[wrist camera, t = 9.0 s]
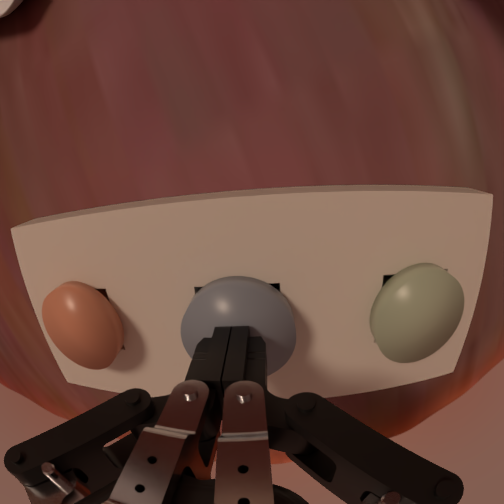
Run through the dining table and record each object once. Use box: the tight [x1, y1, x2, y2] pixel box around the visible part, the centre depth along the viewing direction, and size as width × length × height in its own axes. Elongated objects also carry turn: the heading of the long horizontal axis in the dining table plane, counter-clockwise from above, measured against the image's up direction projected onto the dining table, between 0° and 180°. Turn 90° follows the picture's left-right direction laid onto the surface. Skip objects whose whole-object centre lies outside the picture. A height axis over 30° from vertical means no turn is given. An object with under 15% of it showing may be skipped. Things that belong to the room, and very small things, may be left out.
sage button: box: [369, 263, 464, 363], centre depth 14 cm, size 5×5×4 cm
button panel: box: [11, 185, 493, 399], centre depth 15 cm, size 28×12×2 cm, turn 94°
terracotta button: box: [42, 281, 124, 370], centre depth 15 cm, size 5×5×4 cm
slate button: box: [181, 276, 296, 376], centre depth 14 cm, size 5×5×4 cm
